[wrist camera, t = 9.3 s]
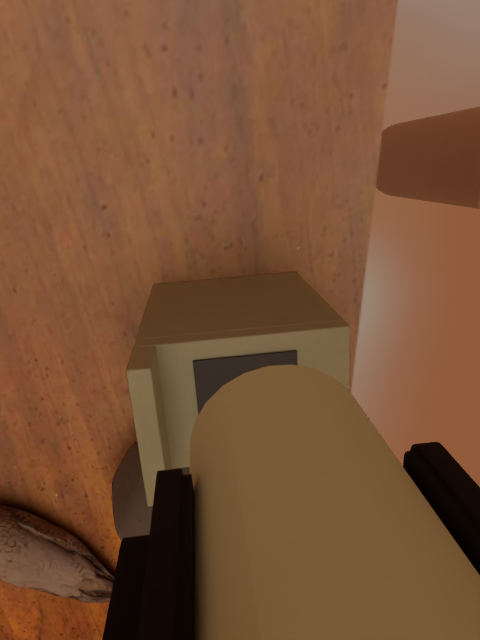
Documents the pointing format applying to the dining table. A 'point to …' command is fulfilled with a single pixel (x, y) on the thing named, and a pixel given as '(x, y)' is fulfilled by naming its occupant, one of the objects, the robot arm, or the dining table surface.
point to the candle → (315, 523)
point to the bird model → (49, 559)
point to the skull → (132, 497)
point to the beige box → (221, 352)
